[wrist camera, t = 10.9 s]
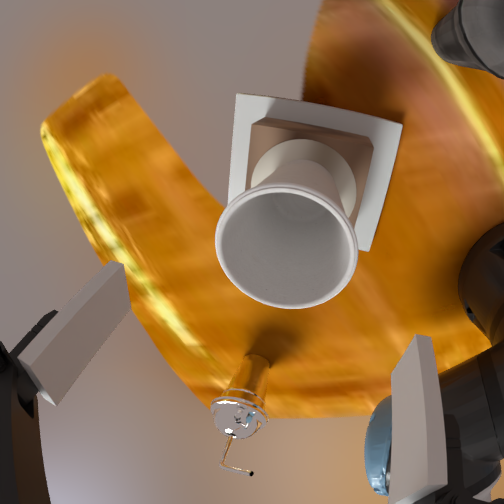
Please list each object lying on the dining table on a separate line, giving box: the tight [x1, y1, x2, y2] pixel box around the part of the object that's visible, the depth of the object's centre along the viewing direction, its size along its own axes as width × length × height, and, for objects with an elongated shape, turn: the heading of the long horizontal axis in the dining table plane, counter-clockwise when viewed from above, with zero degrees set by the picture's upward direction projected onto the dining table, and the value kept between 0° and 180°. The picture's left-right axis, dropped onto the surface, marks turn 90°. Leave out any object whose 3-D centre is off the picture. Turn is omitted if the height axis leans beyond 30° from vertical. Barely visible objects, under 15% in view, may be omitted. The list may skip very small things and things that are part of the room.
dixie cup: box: [215, 159, 358, 309], centre depth 22 cm, size 8×8×10 cm
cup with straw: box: [211, 354, 270, 476], centre depth 41 cm, size 8×9×20 cm
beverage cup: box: [431, 0, 504, 79], centre depth 12 cm, size 7×7×20 cm
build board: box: [228, 93, 403, 252], centre depth 31 cm, size 16×14×2 cm
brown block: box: [245, 117, 374, 228], centre depth 28 cm, size 10×10×5 cm
